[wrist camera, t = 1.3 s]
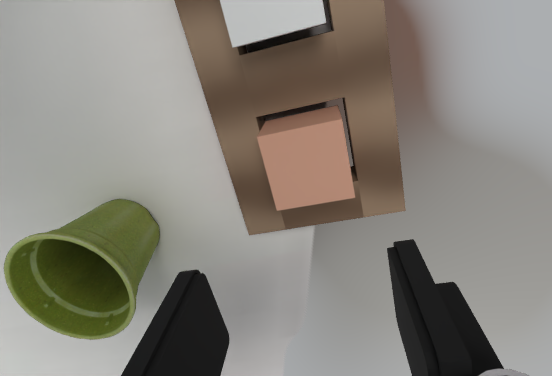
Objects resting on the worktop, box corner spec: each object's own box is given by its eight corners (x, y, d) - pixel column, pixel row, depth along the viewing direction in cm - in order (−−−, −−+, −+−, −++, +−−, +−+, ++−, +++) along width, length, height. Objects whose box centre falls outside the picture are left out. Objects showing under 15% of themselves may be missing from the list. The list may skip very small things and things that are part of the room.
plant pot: (185, 198, 30) (139, 258, 22) (171, 279, 34) (128, 353, 26) (81, 168, 30) (-2, 217, 22) (79, 253, 34) (8, 320, 26)
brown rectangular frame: (164, -85, 21) (141, -102, 19) (357, -155, 19) (364, -186, 16) (255, 216, 30) (249, 235, 27) (396, 193, 27) (405, 210, 25)
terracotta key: (265, 121, 24) (256, 137, 20) (337, 105, 23) (342, 118, 19) (282, 185, 25) (276, 210, 22) (349, 173, 25) (355, 197, 21)
